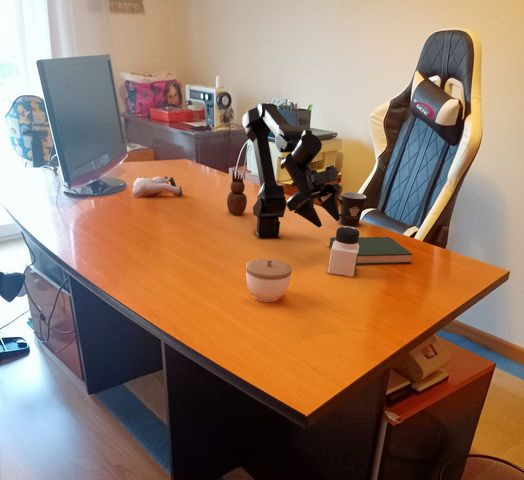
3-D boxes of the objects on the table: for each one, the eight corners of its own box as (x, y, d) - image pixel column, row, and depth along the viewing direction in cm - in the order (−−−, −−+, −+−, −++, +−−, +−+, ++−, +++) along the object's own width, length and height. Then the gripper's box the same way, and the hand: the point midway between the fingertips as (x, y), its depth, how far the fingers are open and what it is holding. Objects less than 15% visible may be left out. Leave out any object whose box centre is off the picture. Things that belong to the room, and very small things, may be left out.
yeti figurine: (157, 188, 211) (115, 194, 197) (156, 171, 208) (113, 176, 194) (189, 195, 200) (148, 202, 186) (189, 177, 197) (146, 182, 183)
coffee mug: (363, 222, 185) (368, 194, 180) (359, 229, 178) (364, 200, 173) (331, 217, 188) (335, 189, 183) (326, 223, 181) (330, 194, 176)
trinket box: (267, 284, 132) (270, 248, 127) (297, 299, 125) (301, 262, 120) (235, 294, 125) (236, 257, 120) (265, 310, 119) (268, 272, 114)
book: (347, 265, 148) (349, 255, 146) (329, 246, 160) (330, 237, 158) (410, 263, 153) (412, 253, 151) (387, 245, 165) (389, 236, 164)
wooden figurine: (224, 214, 181) (225, 169, 174) (230, 210, 186) (232, 167, 179) (241, 217, 180) (244, 173, 172) (248, 213, 184) (250, 170, 177)
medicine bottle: (353, 277, 140) (361, 234, 134) (327, 273, 141) (334, 230, 135) (355, 268, 146) (362, 226, 140) (329, 264, 147) (336, 223, 141)
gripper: (300, 158, 128) (332, 213, 128) (340, 151, 141) (368, 201, 141) (273, 184, 136) (302, 236, 136) (312, 176, 149) (339, 223, 149)
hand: (329, 223), depth 140 cm, fingers open, 9 cm apart
